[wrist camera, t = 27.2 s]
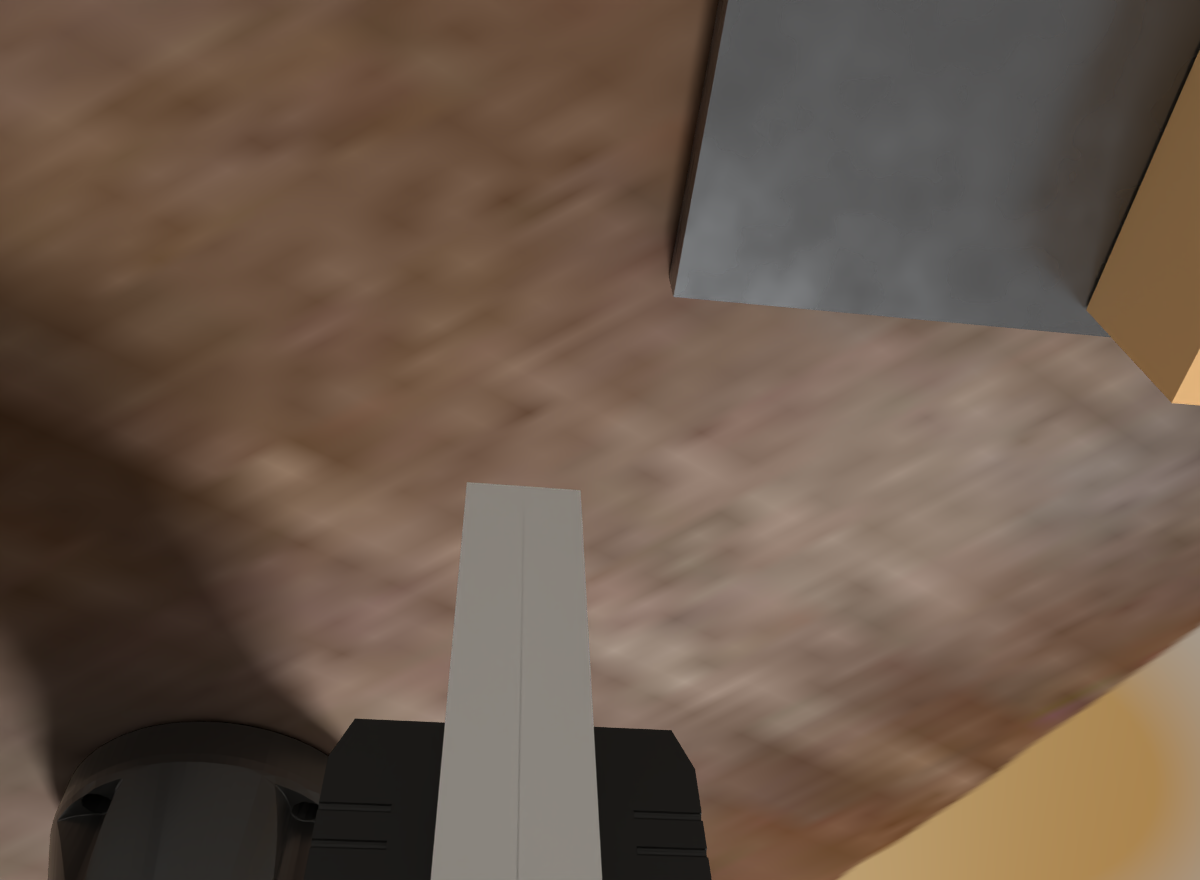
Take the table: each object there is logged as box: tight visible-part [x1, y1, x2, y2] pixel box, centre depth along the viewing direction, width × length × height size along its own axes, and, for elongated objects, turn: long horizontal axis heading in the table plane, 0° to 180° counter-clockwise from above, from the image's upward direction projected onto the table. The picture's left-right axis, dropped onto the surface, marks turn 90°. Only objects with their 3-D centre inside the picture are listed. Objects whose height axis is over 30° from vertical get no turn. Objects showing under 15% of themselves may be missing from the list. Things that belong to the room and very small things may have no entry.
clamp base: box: [669, 0, 1200, 337], centre depth 31 cm, size 16×25×8 cm, turn 83°
